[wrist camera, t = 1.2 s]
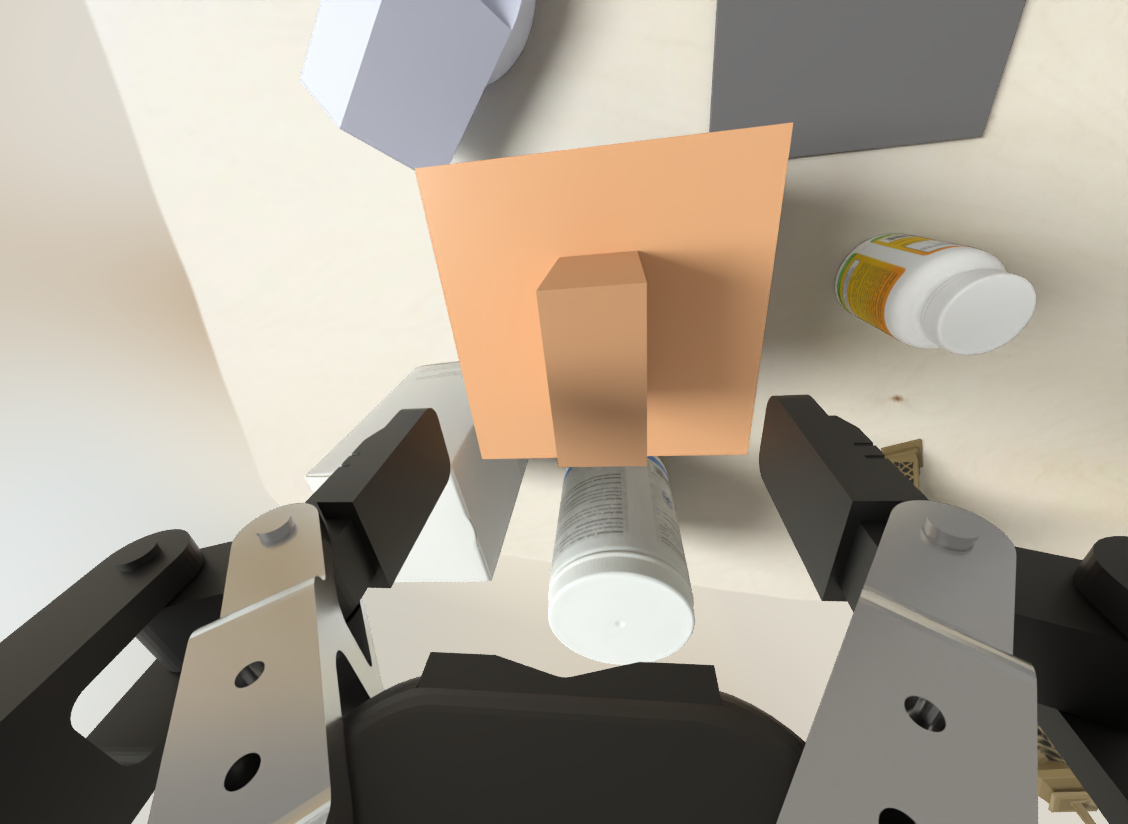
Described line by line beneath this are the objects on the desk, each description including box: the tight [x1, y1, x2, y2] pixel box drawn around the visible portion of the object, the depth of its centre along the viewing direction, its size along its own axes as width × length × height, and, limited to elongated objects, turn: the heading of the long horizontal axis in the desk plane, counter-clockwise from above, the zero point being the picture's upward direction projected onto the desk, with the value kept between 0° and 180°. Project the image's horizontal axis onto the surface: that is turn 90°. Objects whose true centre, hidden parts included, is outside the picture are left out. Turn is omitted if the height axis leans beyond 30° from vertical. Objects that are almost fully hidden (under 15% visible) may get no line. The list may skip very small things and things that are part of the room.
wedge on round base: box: [300, 0, 536, 170], centre depth 21 cm, size 9×7×13 cm
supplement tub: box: [548, 456, 695, 665], centre depth 33 cm, size 10×10×15 cm
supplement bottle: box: [835, 233, 1036, 355], centre depth 24 cm, size 5×5×10 cm
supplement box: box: [305, 362, 529, 583], centre depth 30 cm, size 9×9×15 cm
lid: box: [414, 122, 793, 467], centre depth 16 cm, size 13×13×8 cm
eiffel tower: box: [881, 439, 1098, 824], centre depth 27 cm, size 11×11×25 cm
